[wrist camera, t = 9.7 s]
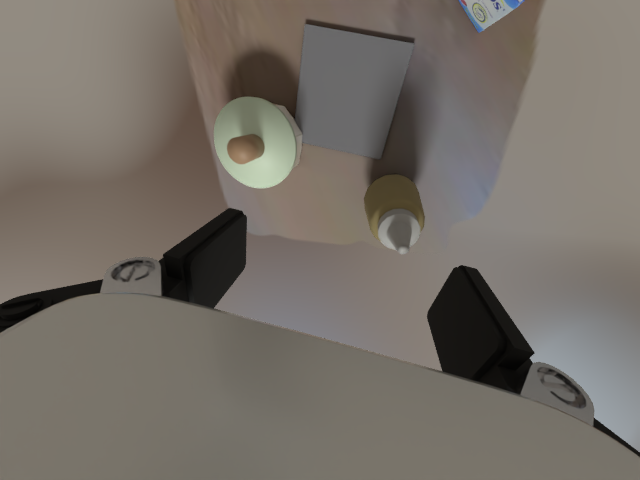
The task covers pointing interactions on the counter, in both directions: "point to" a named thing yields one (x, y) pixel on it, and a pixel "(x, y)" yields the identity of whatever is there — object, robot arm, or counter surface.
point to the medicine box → (487, 11)
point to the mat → (349, 89)
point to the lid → (255, 142)
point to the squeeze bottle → (394, 212)
